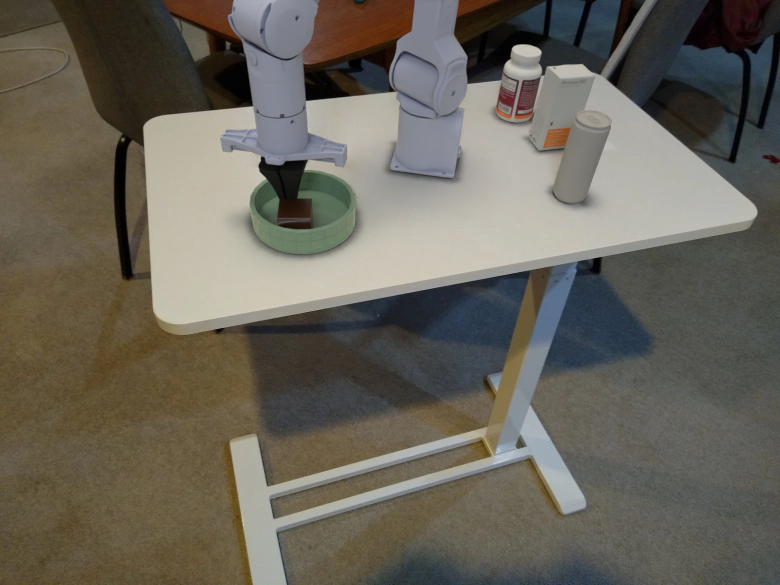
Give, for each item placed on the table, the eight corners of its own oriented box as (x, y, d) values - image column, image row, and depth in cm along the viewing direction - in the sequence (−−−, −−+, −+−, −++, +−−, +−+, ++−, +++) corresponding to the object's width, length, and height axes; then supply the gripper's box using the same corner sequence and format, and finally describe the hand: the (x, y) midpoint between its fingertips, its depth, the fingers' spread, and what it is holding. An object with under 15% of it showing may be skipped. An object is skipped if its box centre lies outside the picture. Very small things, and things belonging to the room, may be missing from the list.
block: (313, 223, 73) (312, 198, 70) (312, 244, 70) (310, 218, 68) (282, 223, 73) (279, 198, 70) (279, 244, 70) (276, 218, 67)
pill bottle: (531, 108, 100) (547, 45, 92) (531, 126, 95) (547, 60, 87) (495, 103, 100) (508, 40, 92) (493, 120, 96) (506, 55, 88)
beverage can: (564, 208, 80) (590, 130, 71) (544, 189, 83) (567, 112, 74) (592, 201, 81) (621, 124, 72) (571, 182, 84) (597, 106, 76)
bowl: (363, 198, 79) (364, 176, 76) (343, 261, 69) (343, 239, 67) (270, 185, 80) (268, 163, 77) (238, 245, 70) (234, 223, 68)
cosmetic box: (538, 152, 90) (559, 78, 81) (527, 138, 92) (545, 65, 84) (573, 148, 91) (596, 75, 82) (560, 134, 94) (582, 62, 85)
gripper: (201, 115, 60) (223, 216, 70) (336, 132, 59) (339, 232, 69) (226, 84, 65) (243, 183, 75) (350, 99, 64) (351, 198, 74)
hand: (290, 204), depth 72 cm, fingers closed, pressing on block
